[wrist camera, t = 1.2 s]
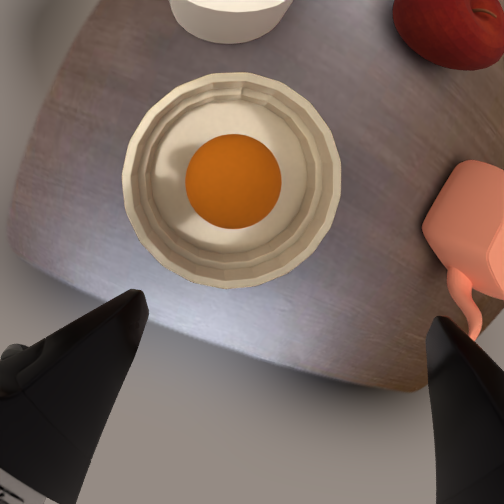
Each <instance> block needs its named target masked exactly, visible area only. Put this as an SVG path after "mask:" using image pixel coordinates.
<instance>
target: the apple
mask: <svg viewBox="0 0 504 504" xmlns="http://www.w3.org/2000/svg"><path fill="white" fill-rule="evenodd" d="M393 21H394V24H395V27H396V29H397V31H398V33H399V35H400V36H401V37H402V39H403V40H404V41H405V43H406V44H407V45H408V46H409V47H410V48H411V49H412V50H414V51H415V52H416V53H418V54H419V55H420V56H422V57H423V58H425V59H426V60H428V61H430V62H432V63H434V64H437V65H440V66H442V67H446V68H450V69H456V70H478V69H483V68H487V67H489V66H491V65H493V64H495V63H496V62H497V61H499V59H500V58H501V56H502V55H503V53H504V12H503V9H502V7H501V5H500V3H499V1H498V0H395V1H394V4H393Z"/></svg>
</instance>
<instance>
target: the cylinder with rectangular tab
mask: <svg viewBox="0 0 504 504" xmlns="http://www.w3.org/2000/svg"><path fill="white" fill-rule="evenodd" d="M169 1H170V5H171V9H172V13H173V14H174V16H175V18H176V20H177V22H178V23H179V24H180V25H181V26H182V27H183V28H184V29H185V30H186V31H187V32H189V33H190V34H192V35H194V36H196V37H197V38H199V39H203V40H206V41H209V42H213V43H222V44H235V43H244V42H248V41H251V40H254V39H257V38H260V37H261V36H263V35H265V34H266V33H268V32H270V31H271V30H272V29H273V28H274V27H275V26H276V25H277V24H278V23H279V22H280V20H281V19H282V17H283V16H284V14H285V12H286V11H287V9H288V8H289V6H290V5H291V3H292V2H293V0H169Z"/></svg>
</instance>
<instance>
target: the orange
mask: <svg viewBox="0 0 504 504" xmlns="http://www.w3.org/2000/svg"><path fill="white" fill-rule="evenodd" d="M281 185H282V177H281V171H280V168H279V165H278V162H277V160H276V158H275V156H274V155H273V153H272V152H271V151H270V150H269V149H268V148H267V147H266V146H265V145H264V144H263V143H261V142H260V141H258V140H256V139H254V138H252V137H249V136H246V135H241V134H227V135H221V136H218V137H215V138H213V139H211V140H209V141H208V142H206V143H205V144H203V145H202V146H201V147H200V148H199V149H198V150H197V151H196V152H195V154H194V155H193V157H192V158H191V160H190V162H189V165H188V167H187V171H186V177H185V187H186V193H187V196H188V199H189V202H190V204H191V206H192V207H193V209H194V210H195V211H196V213H197V214H198V215H199V216H200V217H202V218H203V219H204V220H205V221H207V222H208V223H210V224H212V225H214V226H217V227H220V228H225V229H242V228H246V227H249V226H252V225H254V224H256V223H258V222H259V221H261V220H262V219H264V218H265V217H266V216H267V215H268V214H269V213H270V212H271V211H272V209H273V208H274V206H275V205H276V203H277V201H278V198H279V196H280V192H281Z"/></svg>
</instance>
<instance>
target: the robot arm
mask: <svg viewBox="0 0 504 504" xmlns="http://www.w3.org/2000/svg"><path fill="white" fill-rule="evenodd" d="M148 316H149V309H148V306H147V302H146V299H145V295H144V293H143V291H141V290H136V289H130V290H128V291H126V292H124V293H122V294H121V295H119V296H117V297H115V298H113V299H112V300H110V301H108V302H106V303H105V304H103V305H101V306H99V307H98V308H96V309H94V310H92V311H91V312H89V313H87V314H85V315H84V316H82V317H80V318H78V319H77V320H75V321H73V322H71V323H70V324H68V325H66V326H64V327H63V328H61V329H59V330H58V331H56V332H54V333H53V334H51V335H49V336H47V337H46V339H45V338H44V339H42V340H41V341H39V342H37V343H35V344H34V345H32V346H30V347H28V348H27V349H25V350H23V351H21V352H19V353H16V354H14V355H11V356H8V357H6V358H3V359H1V360H0V504H44V502H45V500H46V497H47V498H49V499H51V500H53V501H55V502H57V503H59V504H76V501H77V498H78V495H79V493H80V490H81V487H82V484H83V482H84V479H85V476H86V473H87V471H88V468H89V465H90V463H91V459H92V457H93V454H94V452H95V449H96V447H97V444H98V442H99V439H100V437H101V434H102V431H103V429H104V426H105V424H106V422H107V419H108V417H109V414H110V412H111V410H112V407H113V405H114V403H115V400H116V398H117V395H118V393H119V391H120V389H121V386H122V384H123V381H124V380H125V377H126V375H127V372H128V371H129V368H130V366H131V364H132V362H133V359H134V357H135V354H136V352H137V349H138V346H139V343H140V340H141V337H142V334H143V331H144V328H145V325H146V322H147V319H148ZM426 353H427V369H428V386H429V394H430V402H431V409H432V418H433V429H434V441H435V457H436V504H504V371H503V370H502V369H501V368H500V367H499V366H498V365H497V364H496V363H495V362H494V361H493V360H492V359H491V358H490V357H489V356H488V355H487V354H486V353H485V351H483V349H482V348H481V347H480V346H478V344H476V342H475V341H474V340H472V339H471V338H470V337H469V336H468V335H467V334H466V333H465V332H464V331H463V330H462V329H461V328H460V327H459V326H458V325H457V324H456V323H455V322H454V321H453V320H452V319H451V318H450V317H448V316H436V317H435V318H434V320H433V322H432V324H431V327H430V329H429V331H428V333H427V336H426Z"/></svg>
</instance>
